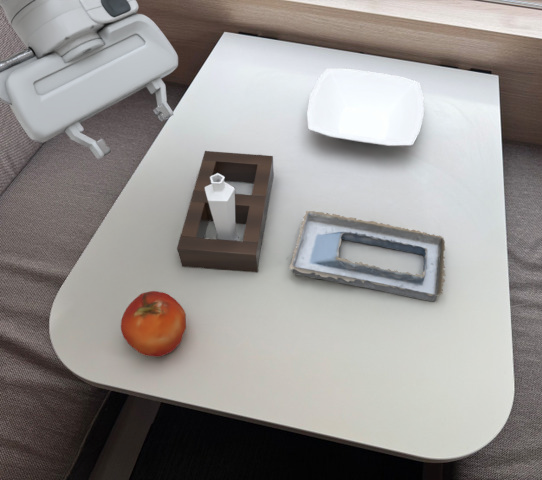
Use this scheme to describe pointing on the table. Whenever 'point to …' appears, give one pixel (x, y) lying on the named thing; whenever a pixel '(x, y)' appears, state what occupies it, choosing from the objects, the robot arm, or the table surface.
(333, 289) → the table surface
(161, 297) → the tomato
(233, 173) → the rack
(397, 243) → the picture frame
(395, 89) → the bowl
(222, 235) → the perfume bottle
